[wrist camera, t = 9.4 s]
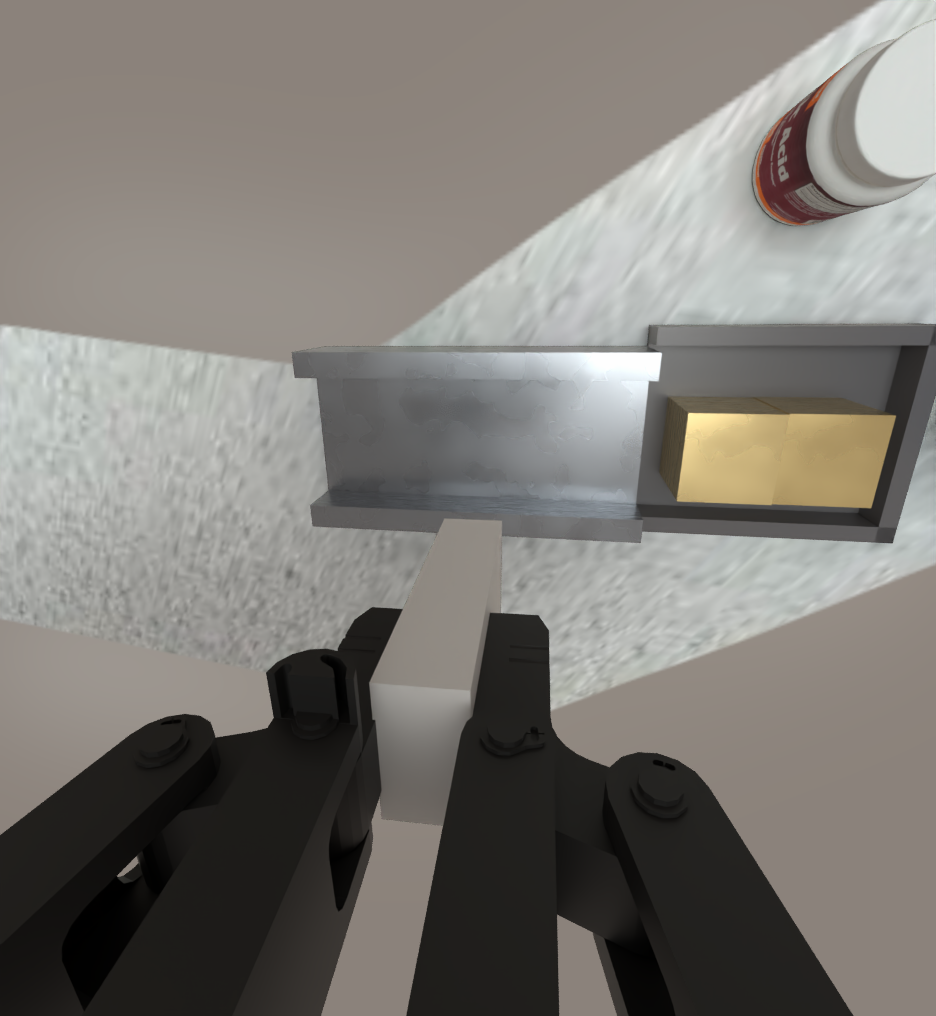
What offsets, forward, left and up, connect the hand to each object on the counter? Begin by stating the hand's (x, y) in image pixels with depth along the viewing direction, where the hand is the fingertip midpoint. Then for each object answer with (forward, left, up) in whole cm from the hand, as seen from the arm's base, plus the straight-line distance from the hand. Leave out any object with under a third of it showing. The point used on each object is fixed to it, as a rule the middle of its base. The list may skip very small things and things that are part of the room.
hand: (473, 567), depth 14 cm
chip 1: (+10, 0, -16) cm, 19 cm away
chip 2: (+14, 0, -16) cm, 21 cm away
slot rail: (-2, 0, -17) cm, 17 cm away
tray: (+13, 0, -17) cm, 21 cm away
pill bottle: (+13, +12, -17) cm, 24 cm away
